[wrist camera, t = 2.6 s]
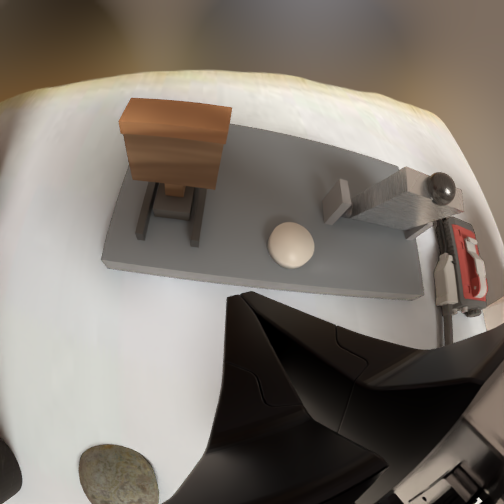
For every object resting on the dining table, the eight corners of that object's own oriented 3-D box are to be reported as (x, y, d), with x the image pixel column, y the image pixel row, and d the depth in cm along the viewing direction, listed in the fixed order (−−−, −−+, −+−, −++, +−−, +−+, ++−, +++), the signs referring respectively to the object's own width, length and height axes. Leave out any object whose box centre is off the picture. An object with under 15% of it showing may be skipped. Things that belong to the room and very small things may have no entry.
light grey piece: (403, 236, 26) (483, 213, 16) (336, 222, 25) (413, 185, 15) (402, 213, 27) (479, 184, 16) (337, 197, 25) (409, 150, 15)
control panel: (411, 300, 26) (449, 284, 21) (107, 268, 21) (86, 239, 16) (389, 175, 32) (414, 149, 27) (150, 128, 28) (148, 87, 23)
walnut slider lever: (210, 223, 22) (226, 143, 14) (134, 213, 21) (113, 132, 13) (216, 182, 24) (233, 99, 16) (145, 173, 23) (135, 89, 15)
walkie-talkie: (420, 213, 32) (433, 376, 24) (442, 196, 28) (463, 373, 20) (460, 228, 33) (474, 370, 25) (480, 215, 29) (500, 365, 21)
